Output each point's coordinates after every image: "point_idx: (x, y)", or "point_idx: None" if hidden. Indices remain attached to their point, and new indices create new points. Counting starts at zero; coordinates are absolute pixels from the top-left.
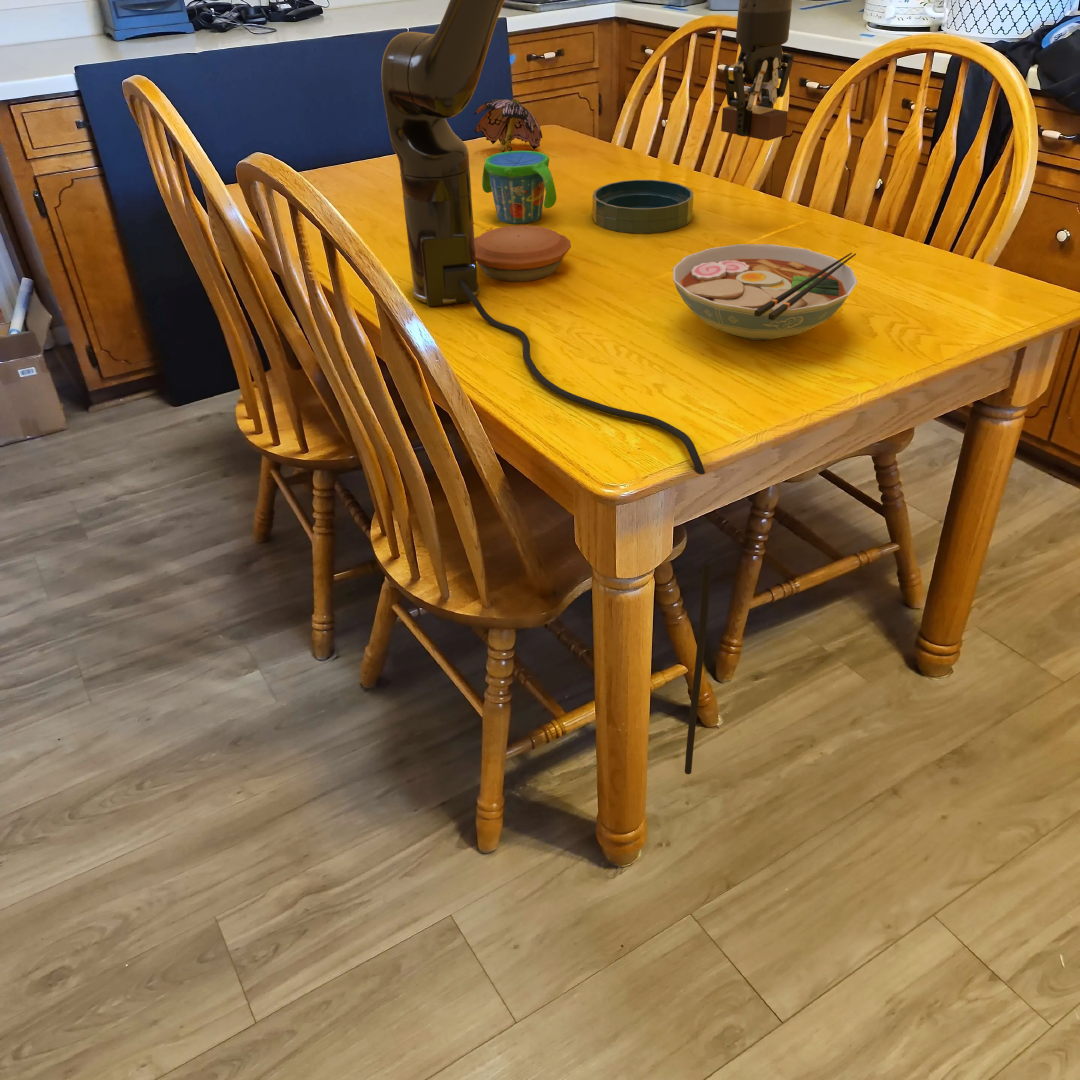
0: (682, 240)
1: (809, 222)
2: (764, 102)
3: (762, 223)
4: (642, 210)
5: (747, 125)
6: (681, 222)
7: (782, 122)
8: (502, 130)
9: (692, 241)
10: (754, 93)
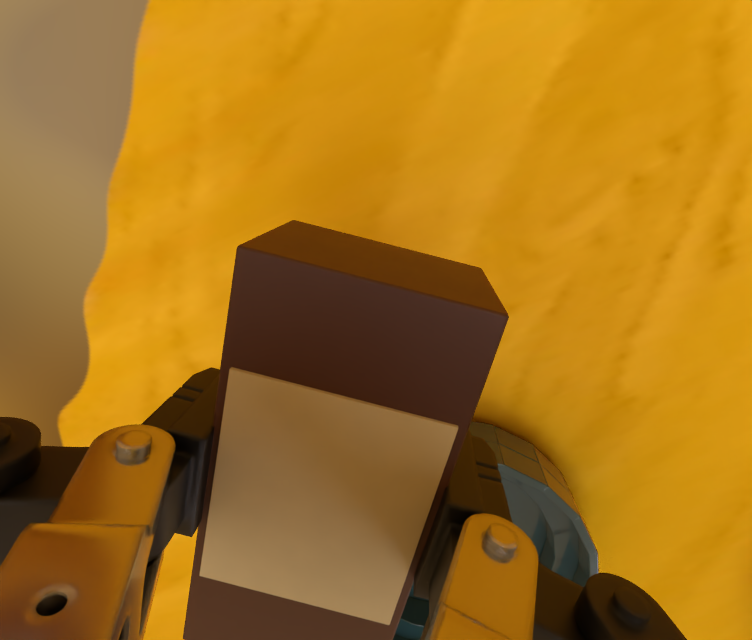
0: (547, 383)
1: (219, 129)
2: (183, 501)
3: None
4: (586, 529)
5: (472, 449)
6: (477, 429)
7: (326, 247)
8: None
9: (544, 358)
10: (490, 628)
